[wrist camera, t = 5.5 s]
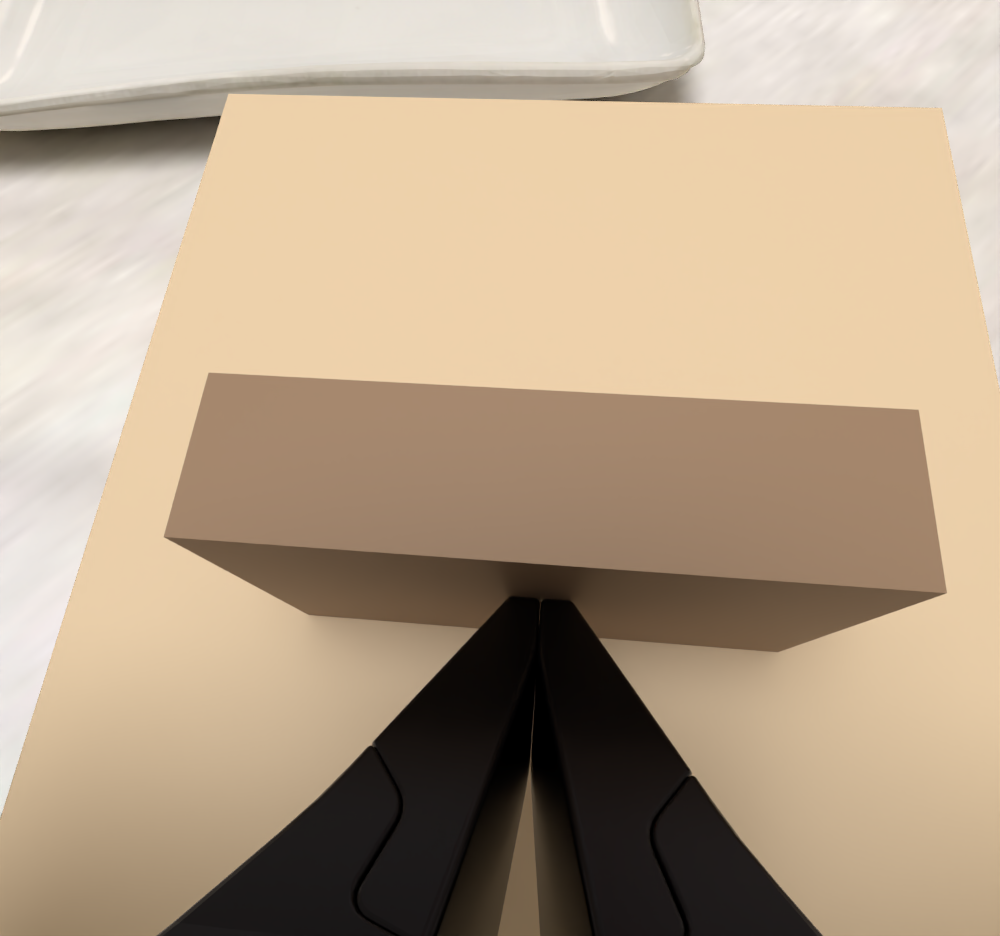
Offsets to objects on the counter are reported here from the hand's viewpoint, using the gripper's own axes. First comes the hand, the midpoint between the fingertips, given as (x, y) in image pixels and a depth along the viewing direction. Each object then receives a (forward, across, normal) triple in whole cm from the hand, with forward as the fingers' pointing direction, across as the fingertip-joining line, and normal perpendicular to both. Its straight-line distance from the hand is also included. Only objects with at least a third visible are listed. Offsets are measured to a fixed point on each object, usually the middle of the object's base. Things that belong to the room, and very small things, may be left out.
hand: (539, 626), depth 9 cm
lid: (+4, 0, +1) cm, 4 cm away
